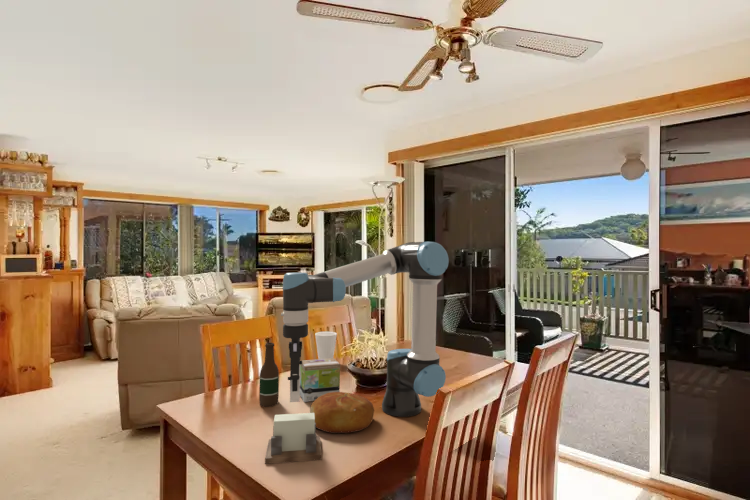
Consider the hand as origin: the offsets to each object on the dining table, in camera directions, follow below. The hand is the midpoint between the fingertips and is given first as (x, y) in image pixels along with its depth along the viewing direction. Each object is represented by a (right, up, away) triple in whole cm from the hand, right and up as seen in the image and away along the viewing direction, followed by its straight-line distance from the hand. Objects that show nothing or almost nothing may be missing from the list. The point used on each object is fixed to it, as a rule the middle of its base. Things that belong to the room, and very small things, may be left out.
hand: (295, 393), depth 125 cm
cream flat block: (0, -16, 0) cm, 16 cm away
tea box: (+1, -18, +47) cm, 50 cm away
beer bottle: (-18, -18, +38) cm, 46 cm away
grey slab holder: (0, -18, 0) cm, 18 cm away
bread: (+12, -18, +21) cm, 31 cm away
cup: (-3, -18, +98) cm, 100 cm away
